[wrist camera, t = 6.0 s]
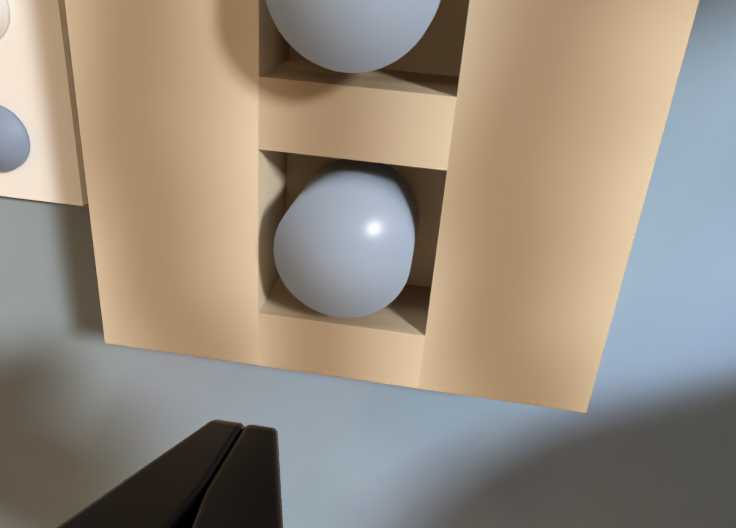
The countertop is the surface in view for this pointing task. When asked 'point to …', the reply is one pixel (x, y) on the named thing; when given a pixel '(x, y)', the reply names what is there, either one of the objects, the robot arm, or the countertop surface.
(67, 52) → the card
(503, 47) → the button board
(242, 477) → the robot arm
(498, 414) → the countertop surface
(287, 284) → the button
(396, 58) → the button middle
